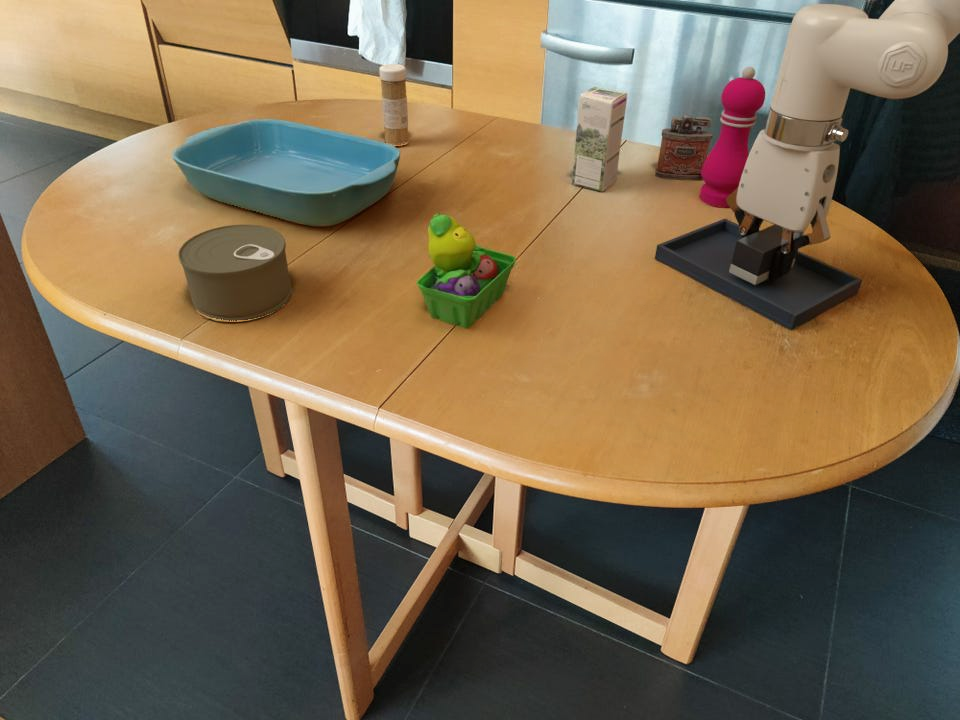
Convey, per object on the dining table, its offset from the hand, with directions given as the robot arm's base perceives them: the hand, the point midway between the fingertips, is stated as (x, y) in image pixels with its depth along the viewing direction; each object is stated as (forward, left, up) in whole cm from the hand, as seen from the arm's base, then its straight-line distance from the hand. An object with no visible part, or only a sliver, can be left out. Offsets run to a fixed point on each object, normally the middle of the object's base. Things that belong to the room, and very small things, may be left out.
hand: (761, 267), depth 91 cm
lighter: (+29, -18, -2) cm, 34 cm away
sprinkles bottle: (+69, +13, -2) cm, 70 cm away
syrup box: (+35, -4, -2) cm, 35 cm away
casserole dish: (+59, +38, -2) cm, 70 cm away
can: (+34, +56, -2) cm, 65 cm away
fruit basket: (+17, +35, -2) cm, 39 cm away
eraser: (0, 0, 0) cm, 0 cm away
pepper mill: (+19, -16, -2) cm, 25 cm away
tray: (+1, 0, -2) cm, 2 cm away
